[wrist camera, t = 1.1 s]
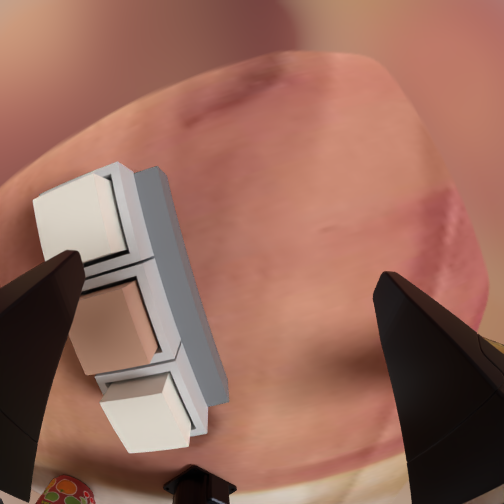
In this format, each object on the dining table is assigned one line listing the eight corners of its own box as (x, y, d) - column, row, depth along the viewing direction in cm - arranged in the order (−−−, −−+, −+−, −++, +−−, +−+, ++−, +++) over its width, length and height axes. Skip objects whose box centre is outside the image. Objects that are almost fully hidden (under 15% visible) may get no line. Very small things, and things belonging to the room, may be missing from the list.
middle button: (158, 345, 18) (149, 364, 15) (101, 357, 18) (85, 375, 15) (136, 279, 18) (121, 288, 15) (79, 296, 17) (58, 306, 14)
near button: (127, 249, 18) (111, 252, 15) (70, 267, 17) (48, 273, 14) (111, 181, 17) (93, 173, 14) (56, 203, 17) (32, 199, 14)
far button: (191, 421, 19) (188, 446, 16) (137, 429, 19) (129, 453, 16) (169, 371, 18) (161, 393, 15) (112, 381, 18) (99, 402, 15)
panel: (228, 381, 26) (231, 428, 19) (132, 400, 25) (111, 445, 18) (166, 173, 24) (145, 152, 17) (67, 209, 23) (20, 203, 16)
